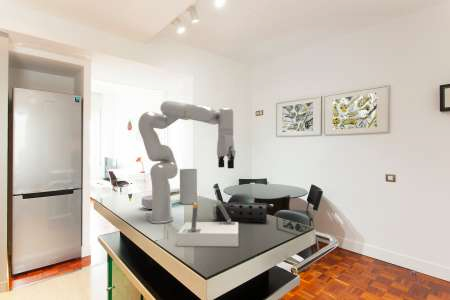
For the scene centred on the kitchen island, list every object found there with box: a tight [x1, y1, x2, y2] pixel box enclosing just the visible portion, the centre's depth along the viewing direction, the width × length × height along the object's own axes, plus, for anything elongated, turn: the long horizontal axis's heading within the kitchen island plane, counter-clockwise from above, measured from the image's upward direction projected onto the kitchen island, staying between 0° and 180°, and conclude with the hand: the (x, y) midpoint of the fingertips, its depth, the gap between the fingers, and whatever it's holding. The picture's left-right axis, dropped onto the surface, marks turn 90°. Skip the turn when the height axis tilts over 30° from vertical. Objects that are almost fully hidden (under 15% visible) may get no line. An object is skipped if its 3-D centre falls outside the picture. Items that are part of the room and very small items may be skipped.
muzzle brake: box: [212, 200, 268, 223], centre depth 131 cm, size 10×28×10 cm, turn 78°
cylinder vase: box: [179, 168, 198, 205], centre depth 181 cm, size 12×12×25 cm
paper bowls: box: [141, 194, 152, 210], centre depth 164 cm, size 15×15×8 cm
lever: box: [216, 199, 232, 224], centre depth 109 cm, size 2×4×11 cm
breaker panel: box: [176, 221, 239, 247], centre depth 104 cm, size 24×16×5 cm
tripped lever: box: [191, 202, 199, 231], centre depth 99 cm, size 2×4×11 cm, turn 176°
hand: (225, 167), depth 121 cm, fingers open, 9 cm apart
